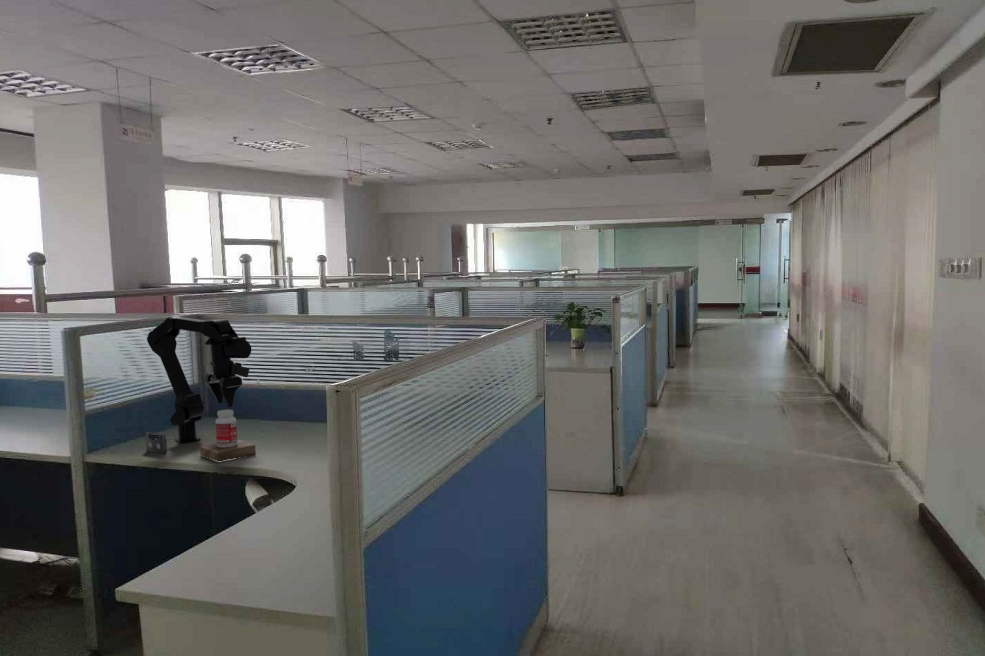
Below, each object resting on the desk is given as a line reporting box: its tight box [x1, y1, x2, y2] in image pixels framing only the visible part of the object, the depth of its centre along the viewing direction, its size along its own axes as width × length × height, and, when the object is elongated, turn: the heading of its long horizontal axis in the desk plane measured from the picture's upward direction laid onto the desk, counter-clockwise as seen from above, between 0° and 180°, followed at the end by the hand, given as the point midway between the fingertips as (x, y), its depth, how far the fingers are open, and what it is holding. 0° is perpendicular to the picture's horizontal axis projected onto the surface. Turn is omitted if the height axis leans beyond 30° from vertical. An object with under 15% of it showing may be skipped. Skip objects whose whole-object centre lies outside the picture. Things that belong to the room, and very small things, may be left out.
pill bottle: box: [214, 409, 238, 448], centre depth 226 cm, size 6×6×11 cm
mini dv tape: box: [144, 431, 168, 454], centre depth 233 cm, size 8×2×6 cm, turn 61°
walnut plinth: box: [199, 438, 257, 461], centre depth 227 cm, size 12×12×3 cm
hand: (225, 405), depth 238 cm, fingers open, 9 cm apart
